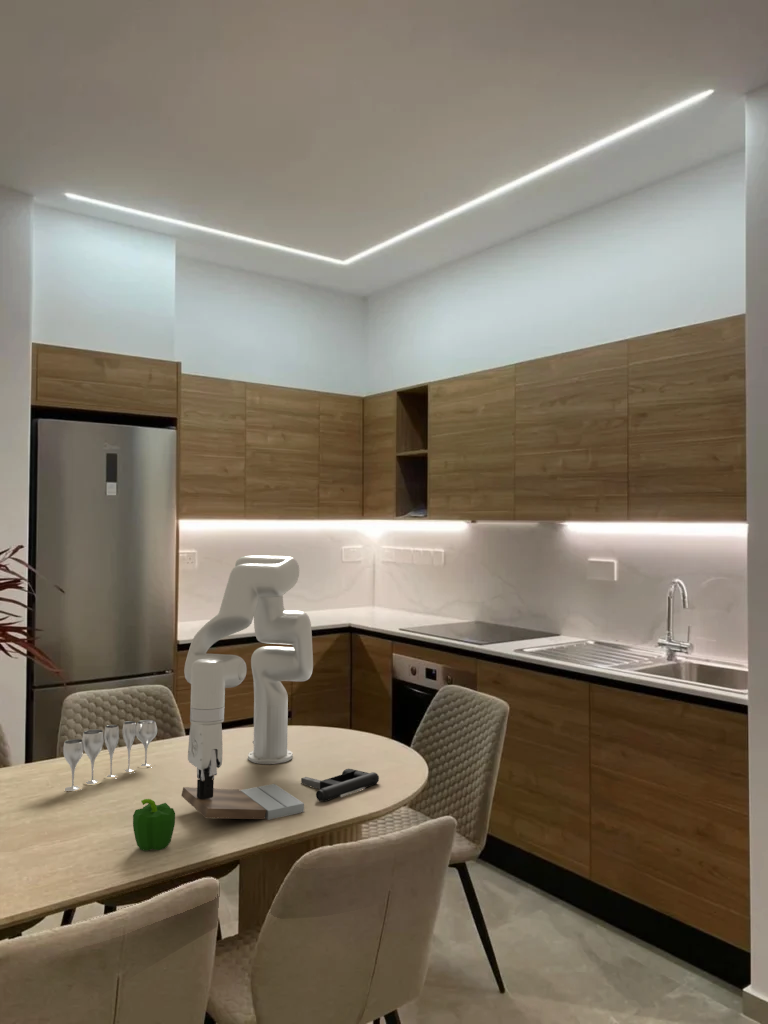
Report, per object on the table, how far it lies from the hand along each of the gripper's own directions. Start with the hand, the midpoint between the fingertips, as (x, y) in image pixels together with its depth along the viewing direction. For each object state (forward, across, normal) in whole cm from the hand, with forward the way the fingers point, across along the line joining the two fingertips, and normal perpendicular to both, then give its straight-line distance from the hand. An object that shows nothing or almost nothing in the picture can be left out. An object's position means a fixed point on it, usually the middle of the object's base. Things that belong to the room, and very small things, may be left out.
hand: (205, 797), depth 174 cm
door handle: (+5, -5, +36) cm, 36 cm away
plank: (+3, -1, +4) cm, 6 cm away
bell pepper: (+6, +8, -14) cm, 17 cm away
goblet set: (+4, -42, -10) cm, 43 cm away
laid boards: (+5, -1, +17) cm, 17 cm away
